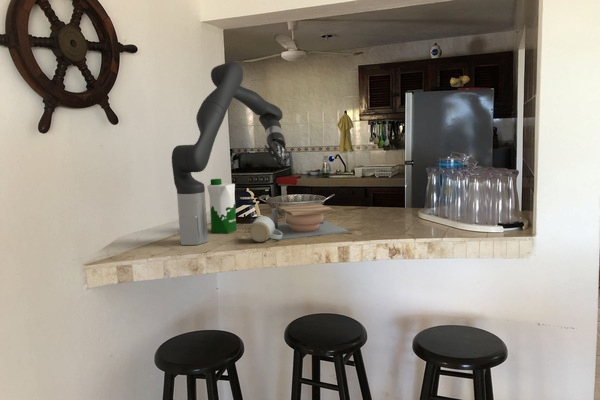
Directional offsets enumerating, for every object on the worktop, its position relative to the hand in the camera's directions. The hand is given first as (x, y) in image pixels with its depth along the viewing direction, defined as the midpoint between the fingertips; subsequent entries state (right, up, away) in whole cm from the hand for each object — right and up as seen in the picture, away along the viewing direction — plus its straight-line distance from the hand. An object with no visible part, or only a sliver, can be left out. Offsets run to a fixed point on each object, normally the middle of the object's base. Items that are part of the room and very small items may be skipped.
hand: (280, 165), depth 178 cm
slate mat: (+8, -24, -6) cm, 26 cm away
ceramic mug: (-4, -27, -22) cm, 35 cm away
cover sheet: (+9, -17, -10) cm, 22 cm away
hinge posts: (+7, -24, -1) cm, 25 cm away
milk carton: (-21, -26, -3) cm, 34 cm away
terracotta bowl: (+9, -25, -8) cm, 28 cm away
